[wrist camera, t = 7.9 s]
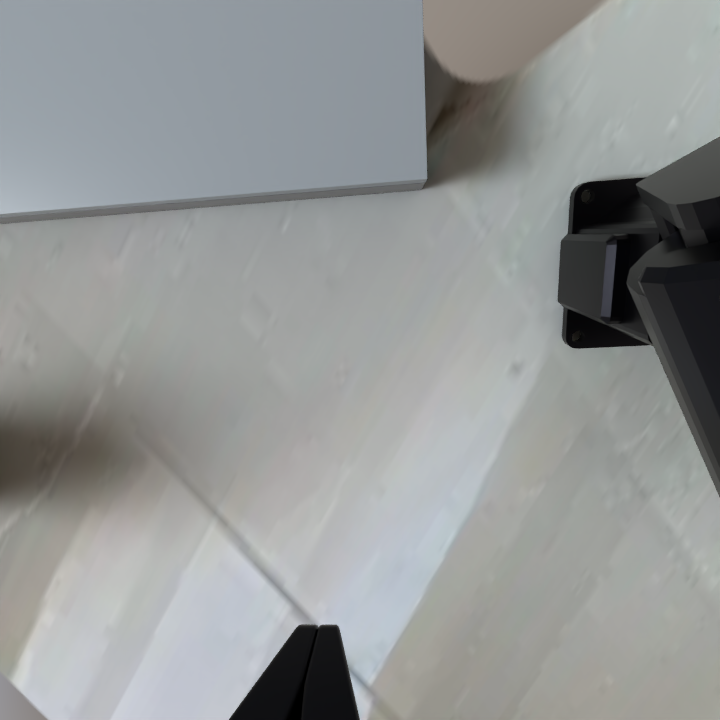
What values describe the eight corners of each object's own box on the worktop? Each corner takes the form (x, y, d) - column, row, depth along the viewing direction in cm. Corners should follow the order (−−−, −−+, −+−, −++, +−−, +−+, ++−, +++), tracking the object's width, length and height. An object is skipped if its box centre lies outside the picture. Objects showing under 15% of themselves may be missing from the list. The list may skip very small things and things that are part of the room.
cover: (418, -84, 13) (419, -105, 12) (425, 182, 15) (427, 178, 14) (-172, -4, 15) (-202, -18, 14) (-100, 225, 17) (-124, 224, 16)
